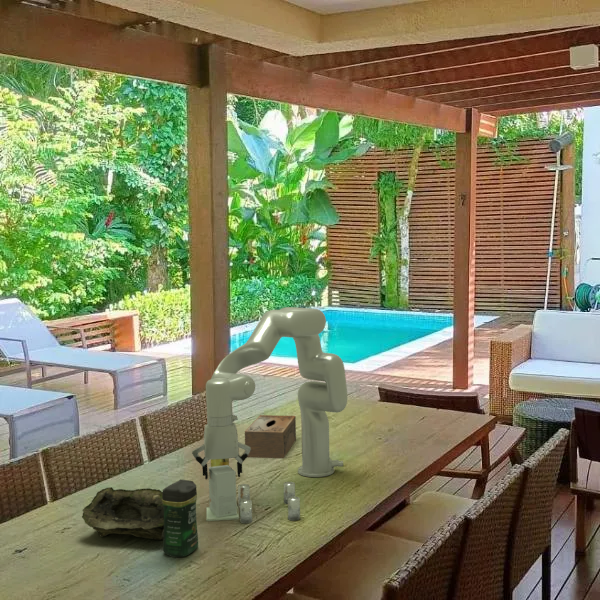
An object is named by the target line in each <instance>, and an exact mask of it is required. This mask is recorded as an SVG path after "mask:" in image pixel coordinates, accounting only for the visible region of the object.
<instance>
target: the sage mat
mask: <svg viewBox="0 0 600 600" xmlns="http://www.w3.org/2000/svg"><path fill="white" fill-rule="evenodd" d="M205 520H206V522H211V521H212V522H214V521H215V522H216V521H231V520H233V521H234V520H240V510H239V505H237V514H235V515H229V516H223V517H216V515H215V514H214V513H213V512H212V511H211V510H210V506H208V507H207V506H206V519H205Z"/></svg>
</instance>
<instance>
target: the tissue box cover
mask: <svg viewBox="0 0 600 600" xmlns="http://www.w3.org/2000/svg"><path fill="white" fill-rule="evenodd" d="M296 419H297V417H296V415H278V414H277V415H276V414H275V415H267V414H260V415H258V417H257V418H256V419H255V420H254V421H253V422H252V423H251V424H250V425H249V426H248V427H247V428H246V429H245V431H244V444H245V445H247V446H249V447H250V448H251V450H250V452H249V454H248V457H247V458H255V459H256V458H257V459H285V457H286V456H287V454H288V453H289V452H290V449H291V448H292V447H293V445H294V444H295V442H296V441H297V430H296V429H297V424H296Z"/></svg>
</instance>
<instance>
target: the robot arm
mask: <svg viewBox="0 0 600 600" xmlns="http://www.w3.org/2000/svg"><path fill="white" fill-rule="evenodd" d="M326 324H327V319H326V316H325V314H324V312H323V311H322V310H320V309H318V308H311V307H310V308H307V307H295V306H294V307H292V306H286V307H282V308H280V309H271V310H268V311H266V312H265V313H264V314H263V315H262V316H261V318H260V320H259V322H258V324H257V325H256V327H255V328H254V329H253V332H252V333H251V335H250V336H249V338H248V339H247V341H246V342H245V343H244V344H243V345H241V346H238V347H237V348H236V349H235V350H233V351H231V352H230V353H228V354H227V355H225V357H223V359H222V360H221V361H220V362H219V364H218V365H217V367H216V369H215V370H214V372H213V374H212V375H211V378H210V379H208V380H207V381H206V382H205V398H206V401H205V402H206V419H207V424H205V425H204V432H203V444H202V445H200V446H198V447H196V448H194V449H193V450H192V451H191V454H192V456H193V457H194V459H195V461H196V462H197V463H199V464H200V465H201V466H202V468H201V469H202V476H204V477H205V478H204V479H205V480H207V479H208V480H209V470H208V462H209V461H211V460H213V459H229V460H230V459H235V460H236V466H237V467H236V468H237V469H236V471H237V472H236V474H237V477H238V478H239V477H240V478H241V474H242V473H243V462H244V461H245V460H246V459H248V458H249V457H248V454H249V452H250V450H251V448H250V447H249V446H247V445H245V443H243V442H240V441H239V437H238V429H237V425H236V423H235V421H239V420H238V419H239V418H238V415H234V414H233V402H234V401H244V400H247V399H249V398H251V397H252V396H253V394H254V393H255V390H256V383H255V380H254V379H253V378H252V377H251V376H249V375H247V374H241V373H238V372H240V371H241V370H242V369H245V368H247V367H250V366H253V365H255V364H259V363H262V362H264V361H267V360H269V358H270V357H271V356H272V353H273V351H274V350H275V349H276V346H277V345H278V343H279V341H280V340H281V339H282V338H292V339H293V341H294V343H295V348H296V349H295V350H296V357H297V364H298V365H297V366H298V371H299V374H300V376H301V377H302V378H304V379H307V380H310V381H307V382H303V383H302V384H301V385H300V386H299V388H298V392H297V400H298V405H299V409H300V418H301V419H300V421H301V466H299V467H298V468H297V473H298V474H299V475H301V476H303V477H308V478H323V477H327V476H328V477H329V476H331V475H333V474H334V472H335V467H336V468H337V467H340V468H341V467H344V460H340V459H332V458H331V457H330V421H329V417H328V415H327V413H326V412H329V413H341V412H342V411H344V410H345V409H346V407H347V405H348V388H347V386H348V385H347V378H346V370H345V365H344V362H343V359H342V358H341V357H340V356H339V355H337V354H336V353H332V352H331V353H329V352H324V351H323V348H322V344H321V339H320V335H319V334H321V333H322V332H323V331H324V330H325V327H326ZM239 449H241V450H244V453H242V454H241V455H240V452H239V451H240V450H239ZM202 451H203V453H204V457H203V458H202V457H201V456H200V455H199V453H200V452H202Z"/></svg>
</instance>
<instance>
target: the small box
mask: <svg viewBox="0 0 600 600" xmlns="http://www.w3.org/2000/svg"><path fill="white" fill-rule="evenodd" d="M208 493H209V494H208V495H209V496H208V497H209V507H210V510H211V511H212V512H213V513H214V514H215V515H216V517H223V516H229V515H235V514H237V506H238V504H237V503H238V501H237V498H238V497H237V472H236V470H235V469H233V468H232V467H231V466H230V464H229V465H223V466H215V467H211V466H209V467H208Z"/></svg>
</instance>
